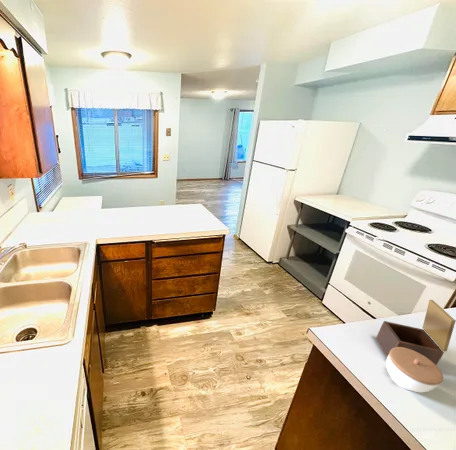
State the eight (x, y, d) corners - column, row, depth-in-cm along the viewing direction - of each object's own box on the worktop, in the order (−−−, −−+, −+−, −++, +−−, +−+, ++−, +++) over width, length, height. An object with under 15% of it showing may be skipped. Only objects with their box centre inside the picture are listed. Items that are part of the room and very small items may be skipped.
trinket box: (385, 388, 69) (399, 367, 65) (375, 357, 77) (387, 337, 73) (437, 407, 64) (455, 386, 60) (420, 372, 73) (435, 352, 69)
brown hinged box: (389, 361, 77) (399, 342, 74) (375, 338, 85) (383, 320, 82) (431, 372, 74) (444, 352, 71) (413, 347, 82) (423, 329, 79)
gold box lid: (451, 320, 67) (455, 320, 67) (429, 299, 76) (432, 299, 75) (443, 351, 71) (446, 351, 70) (422, 328, 79) (425, 328, 79)
